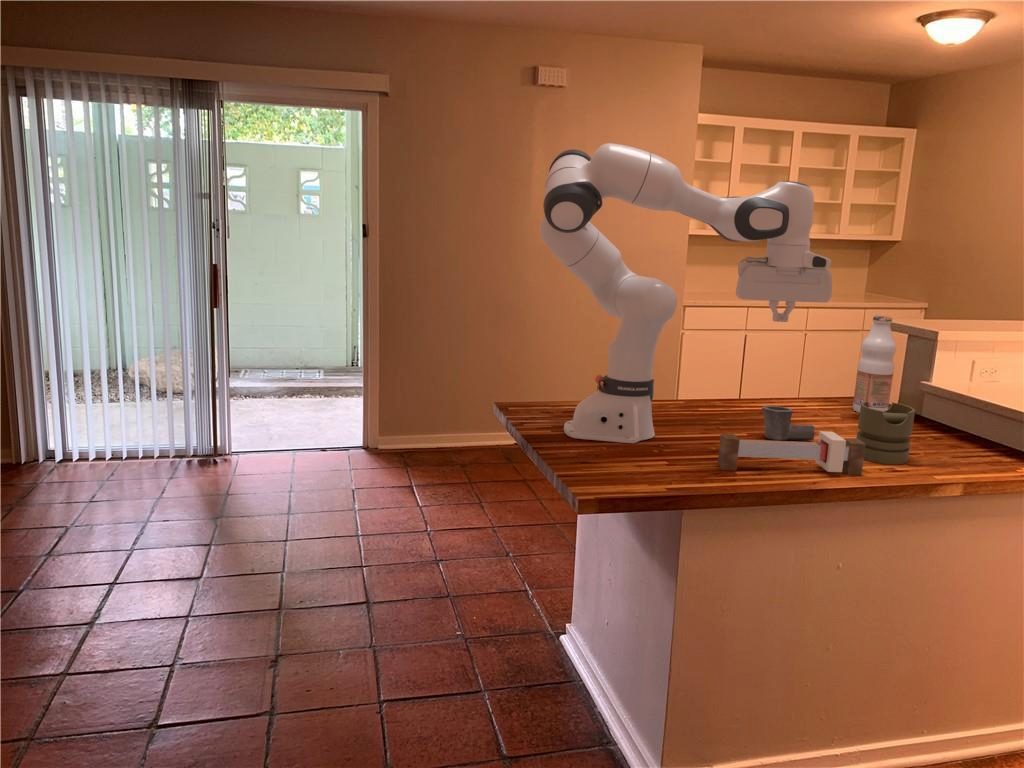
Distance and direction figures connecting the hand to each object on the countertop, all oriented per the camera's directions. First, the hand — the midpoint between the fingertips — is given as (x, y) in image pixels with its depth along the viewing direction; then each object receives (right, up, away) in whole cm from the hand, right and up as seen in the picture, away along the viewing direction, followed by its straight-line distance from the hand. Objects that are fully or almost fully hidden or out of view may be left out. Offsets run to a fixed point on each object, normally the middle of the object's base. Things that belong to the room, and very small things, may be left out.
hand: (780, 321), depth 172 cm
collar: (+9, -33, -3) cm, 34 cm away
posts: (+1, -33, -3) cm, 33 cm away
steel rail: (+1, -30, -4) cm, 30 cm away
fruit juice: (+45, -22, +54) cm, 73 cm away
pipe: (+9, -28, +21) cm, 36 cm away
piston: (+27, -31, +9) cm, 42 cm away
